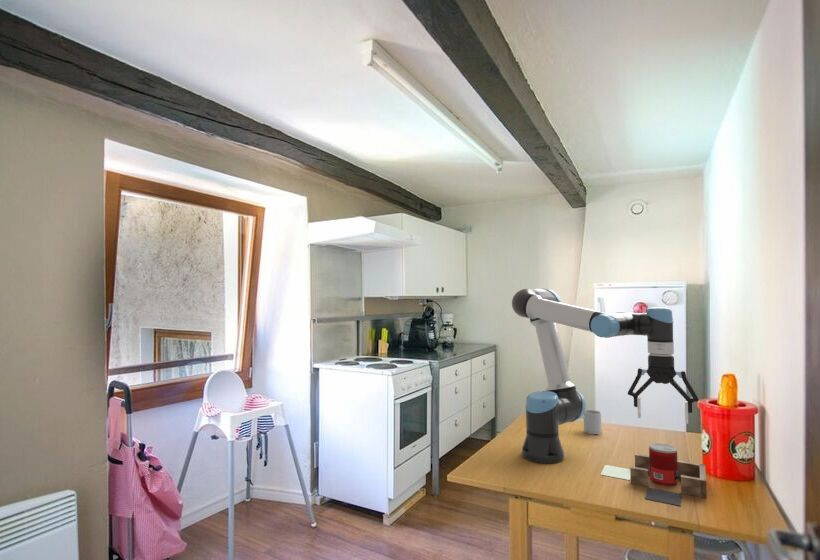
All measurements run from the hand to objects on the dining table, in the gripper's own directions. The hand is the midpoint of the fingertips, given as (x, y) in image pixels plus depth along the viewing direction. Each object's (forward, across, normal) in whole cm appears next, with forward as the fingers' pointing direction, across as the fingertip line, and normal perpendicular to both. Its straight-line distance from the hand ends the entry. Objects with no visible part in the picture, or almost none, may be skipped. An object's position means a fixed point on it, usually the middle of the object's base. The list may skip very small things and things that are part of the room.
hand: (662, 420), depth 148 cm
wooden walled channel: (+20, +1, 0) cm, 20 cm away
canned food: (+20, 0, 0) cm, 20 cm away
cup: (+20, -29, +45) cm, 57 cm away
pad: (+20, -14, 0) cm, 24 cm away
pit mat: (+20, 0, -13) cm, 24 cm away
